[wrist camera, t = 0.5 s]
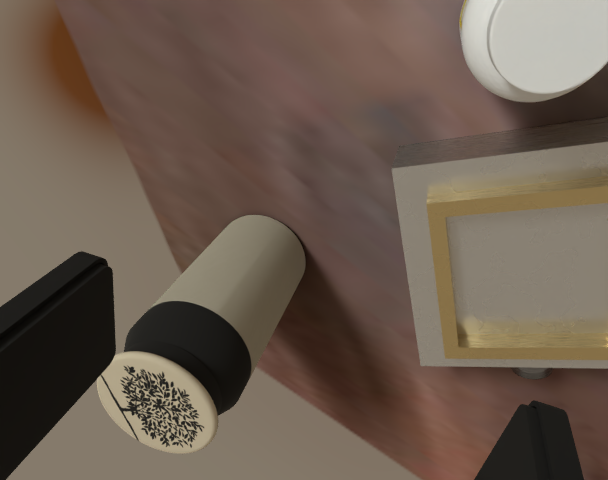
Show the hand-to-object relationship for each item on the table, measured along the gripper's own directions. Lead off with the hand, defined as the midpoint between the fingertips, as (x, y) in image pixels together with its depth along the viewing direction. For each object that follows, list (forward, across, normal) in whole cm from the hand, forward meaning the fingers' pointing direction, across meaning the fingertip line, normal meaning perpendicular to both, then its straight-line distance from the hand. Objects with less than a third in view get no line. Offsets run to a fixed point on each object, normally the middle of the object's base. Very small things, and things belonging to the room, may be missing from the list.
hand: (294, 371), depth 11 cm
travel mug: (+27, +8, +15) cm, 32 cm away
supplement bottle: (+27, -5, -7) cm, 28 cm away
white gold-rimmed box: (+26, -11, +7) cm, 29 cm away
